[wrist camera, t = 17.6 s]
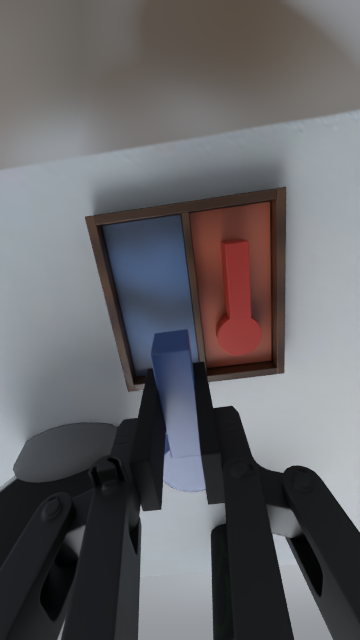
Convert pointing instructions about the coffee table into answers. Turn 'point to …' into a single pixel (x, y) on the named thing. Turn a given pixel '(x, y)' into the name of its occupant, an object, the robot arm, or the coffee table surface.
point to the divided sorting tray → (192, 279)
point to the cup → (221, 585)
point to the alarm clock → (50, 474)
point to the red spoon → (237, 301)
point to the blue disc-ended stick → (178, 410)
